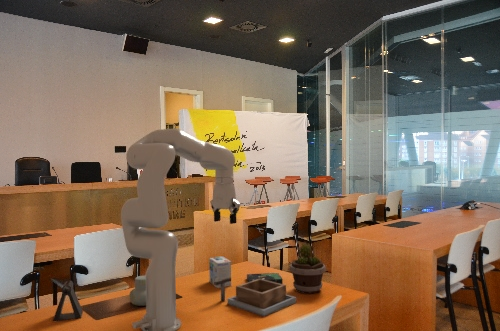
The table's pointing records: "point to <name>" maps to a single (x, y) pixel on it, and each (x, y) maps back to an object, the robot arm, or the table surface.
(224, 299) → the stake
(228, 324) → the table surface
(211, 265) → the light bulb box
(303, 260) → the flowerpot
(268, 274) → the disk drive
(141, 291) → the air freshener
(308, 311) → the table surface
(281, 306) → the tray
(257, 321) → the table surface
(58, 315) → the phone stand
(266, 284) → the frame
